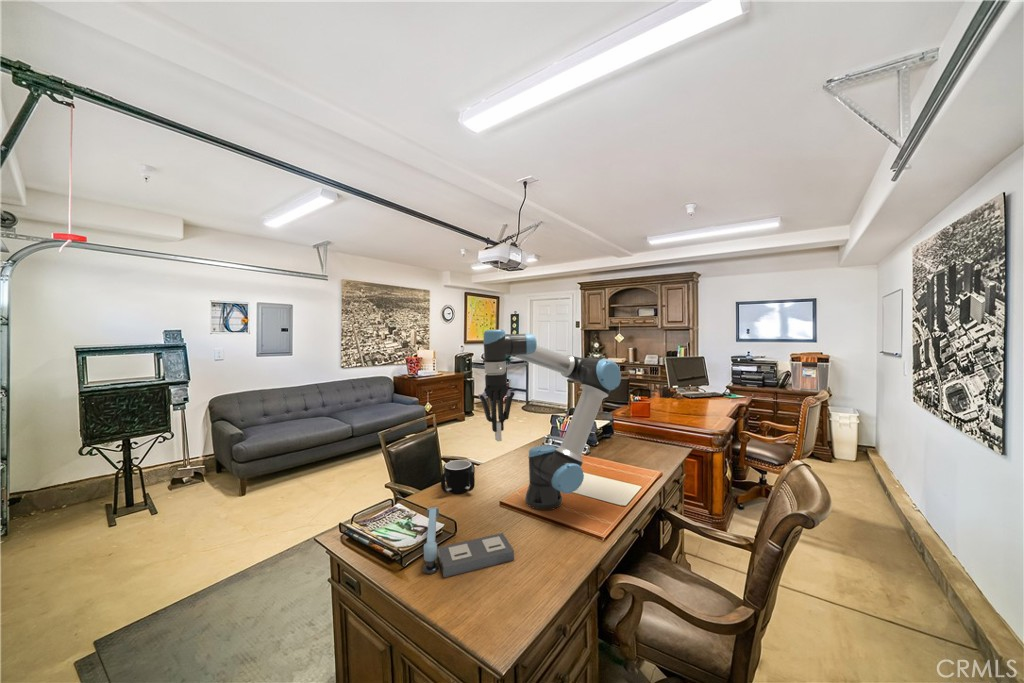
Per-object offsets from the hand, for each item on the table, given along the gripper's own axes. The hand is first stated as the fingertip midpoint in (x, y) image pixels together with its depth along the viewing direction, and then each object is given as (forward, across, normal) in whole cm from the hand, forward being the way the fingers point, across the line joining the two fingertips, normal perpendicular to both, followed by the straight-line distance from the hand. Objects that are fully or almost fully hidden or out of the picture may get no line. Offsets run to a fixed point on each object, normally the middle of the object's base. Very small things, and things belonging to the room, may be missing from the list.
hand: (498, 440), depth 128 cm
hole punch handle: (+30, -24, +2) cm, 38 cm away
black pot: (+34, -7, +41) cm, 54 cm away
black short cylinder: (+33, -26, -10) cm, 44 cm away
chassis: (+34, -12, -10) cm, 37 cm away
